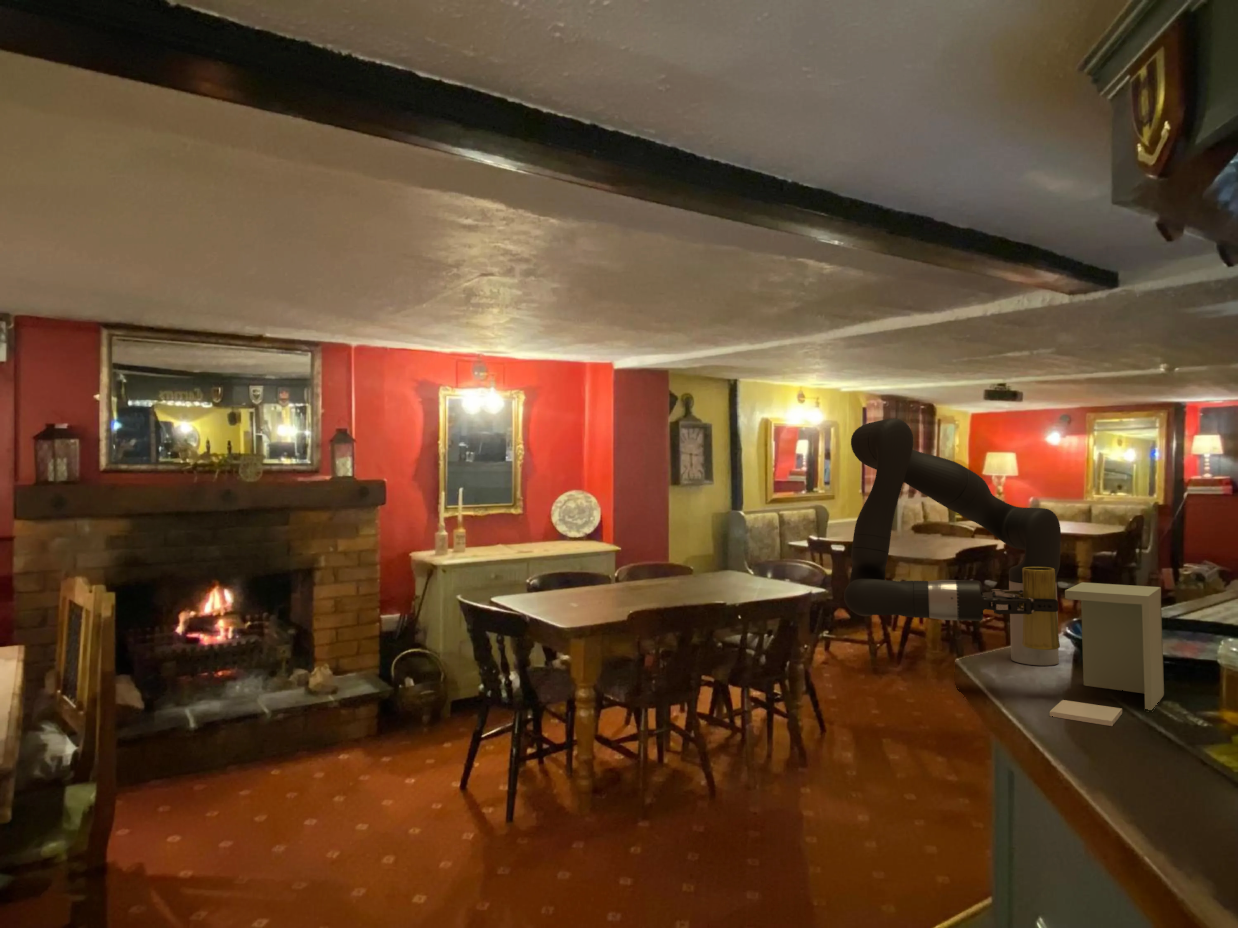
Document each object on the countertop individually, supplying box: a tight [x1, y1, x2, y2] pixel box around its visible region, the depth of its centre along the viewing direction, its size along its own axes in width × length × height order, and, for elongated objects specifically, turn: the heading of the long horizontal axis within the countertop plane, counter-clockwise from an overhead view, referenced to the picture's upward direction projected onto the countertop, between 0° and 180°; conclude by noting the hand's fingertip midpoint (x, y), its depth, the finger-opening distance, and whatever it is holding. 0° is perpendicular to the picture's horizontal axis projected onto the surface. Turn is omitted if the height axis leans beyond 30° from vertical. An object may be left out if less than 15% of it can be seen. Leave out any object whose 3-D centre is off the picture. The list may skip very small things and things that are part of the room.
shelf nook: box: [1064, 581, 1165, 710], centre depth 146 cm, size 14×13×20 cm
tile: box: [1049, 699, 1123, 727], centre depth 135 cm, size 9×9×1 cm
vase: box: [1022, 567, 1061, 650], centre depth 148 cm, size 6×6×14 cm
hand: (1054, 602), depth 147 cm, fingers closed on vase, 5 cm apart
